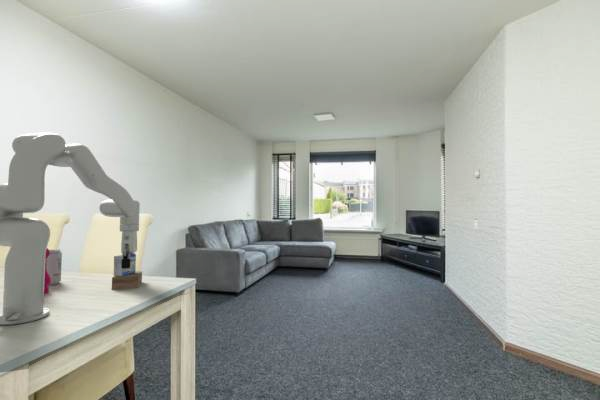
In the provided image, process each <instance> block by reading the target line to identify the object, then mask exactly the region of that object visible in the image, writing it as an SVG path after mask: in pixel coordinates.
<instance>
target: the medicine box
mask: <svg viewBox="0 0 600 400" xmlns="http://www.w3.org/2000/svg"><path fill="white" fill-rule="evenodd" d="M136 263H137V254H136V253H134V254H130V268H123V269H122V268H121V267H122V254H118V255H114V257H113V277H114V276H125V275H129V274H132V273H135V272H137V271H136V269H137V268H136V267H137V266H136Z"/></svg>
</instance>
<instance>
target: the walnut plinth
mask: <svg viewBox="0 0 600 400" xmlns="http://www.w3.org/2000/svg"><path fill="white" fill-rule="evenodd" d="M142 282H143V271H141V270H140V271H135V273H132V274H129V275H125V276H114V275H113V276H112V278H111V290H112V291H113V290H128V289H139V287H140V286H141V284H142Z"/></svg>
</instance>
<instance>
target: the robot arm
mask: <svg viewBox="0 0 600 400" xmlns="http://www.w3.org/2000/svg"><path fill="white" fill-rule="evenodd" d="M11 143H12V145H11V147H12V150H13V152H14V155H13V157H12V158H11V160H10V163H9V166H8V167H9V168H8V181H7V183H3V184H0V247H10V248H9V250H8V253H7V254H6V257H5V261H4V269H3V270H4V273H3V275H4V279H3V302H2V314H0V326H1V325H4V326H10V325H20V324H25V323H30V322H33V321H37V320H39V319H43V318H45V317H47V316H48V315H49V314H50V308H47V307H44V306H45V305H44V303H45V301H44V300H45V294H44V281H45V257H46V249H47V248H48V244H49V241H50V238H51V229H50V227H49V225H48V224H47V223H46V222H45V221H43V220H41V219H39V218H35V217H24V214H33V213H34V214H35V213H37V212H39V211H41V210H42V209H43V208H44V205H45V199H46V198H45V196H46V195H45V185H46V184H45V178H46V177H45V176H46V170H47V168H48V166H54V167H60V168H70V169H72V170H73V172H74V174H75V175H76V176H77V178H78V179H79V180H80V181H81V183H82V184H83V185H84V187H85V188H87V189H89V190H91V191H94V192H96V193H98V194H101V195H103V196H105V197H107V198H108V199H106V200H104V201H102V202H101V203H100V205H99V209H98V210H99V212H100V214H102V215H103V216H105V217H107V218H119V232H121V242H120V243H121V244H120V249H121V250H120V253H121V255H122V267H121V268H122V269H123V268H130V254H136V252H137V251H138V232H139V231H140V230H139V229H140V209H141V208H140V207H141V206H140V202H139V201H138V200H134V199H133V198H132V196H131V194H130V193H129V191H128V190H127V189H126V188H124V186H122V185H121V184H119V183H118V182H117V181H116V180H114V179H112V178H111V177H110V176H108V175H107V174H106V172H105V171H104V169H103V167H102V166H101V165H100V163H99V161H98V160H97V158H96V157H95V155H94V154H93V153H92V151H91V150H90V149H89V147H87V146H85V145H84V144H80V143H72V144H71V143H68V144H67V143H66V141H65V139H64V138H63V137H62V136H61V135H60V134H58V133H52V132H39V133H38V132H37V133H26V134H21V135H18V136H16V137H15V138H14V139H13V141H12V142H11Z"/></svg>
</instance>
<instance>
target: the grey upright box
mask: <svg viewBox="0 0 600 400" xmlns="http://www.w3.org/2000/svg"><path fill="white" fill-rule="evenodd" d="M49 251H50V255H49V256H48V257H47V259H48V262H47V263H46V270H47V272H48V274H49V276H50V279H51V282H50V284H49V285H48V286H53V285H58V284H60V282H61V281H62V261H63V259H62V257H63V253H62V251H61V249H58V248H57V249H55V248H54V249H49Z"/></svg>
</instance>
